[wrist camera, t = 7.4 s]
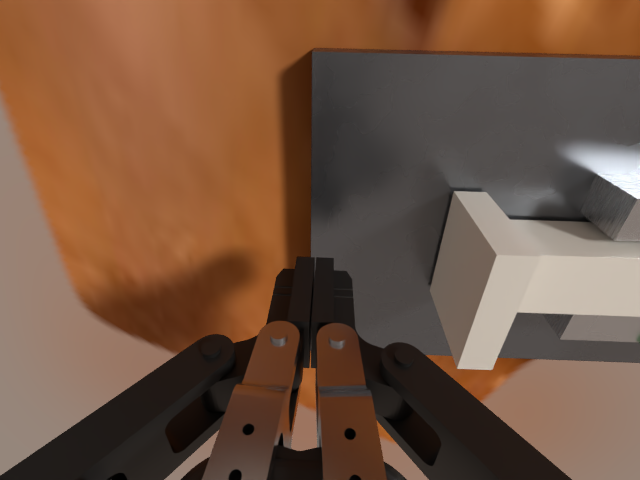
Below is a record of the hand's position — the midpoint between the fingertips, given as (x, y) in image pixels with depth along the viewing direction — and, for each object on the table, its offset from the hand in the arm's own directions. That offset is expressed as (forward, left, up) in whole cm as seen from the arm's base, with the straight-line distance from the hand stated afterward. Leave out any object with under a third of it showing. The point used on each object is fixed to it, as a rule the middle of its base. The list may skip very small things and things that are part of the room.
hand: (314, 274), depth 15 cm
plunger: (0, +13, -3) cm, 13 cm away
